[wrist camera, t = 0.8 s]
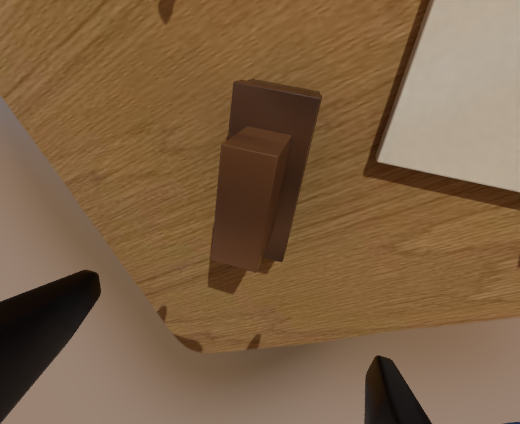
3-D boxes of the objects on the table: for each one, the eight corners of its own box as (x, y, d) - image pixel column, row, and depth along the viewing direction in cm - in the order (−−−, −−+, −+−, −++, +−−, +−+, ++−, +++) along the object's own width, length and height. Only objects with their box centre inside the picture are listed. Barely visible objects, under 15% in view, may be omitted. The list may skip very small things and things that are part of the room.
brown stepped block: (288, 238, 21) (269, 308, 15) (231, 223, 22) (190, 284, 16) (323, 92, 17) (315, 109, 11) (249, 78, 17) (200, 86, 11)
